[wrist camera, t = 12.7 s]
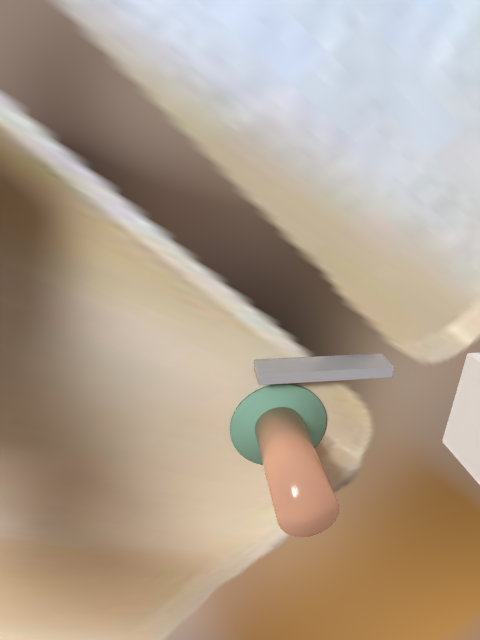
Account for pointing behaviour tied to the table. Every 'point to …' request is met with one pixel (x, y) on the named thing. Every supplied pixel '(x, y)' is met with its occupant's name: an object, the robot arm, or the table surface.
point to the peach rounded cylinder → (294, 474)
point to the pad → (269, 399)
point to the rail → (322, 369)
